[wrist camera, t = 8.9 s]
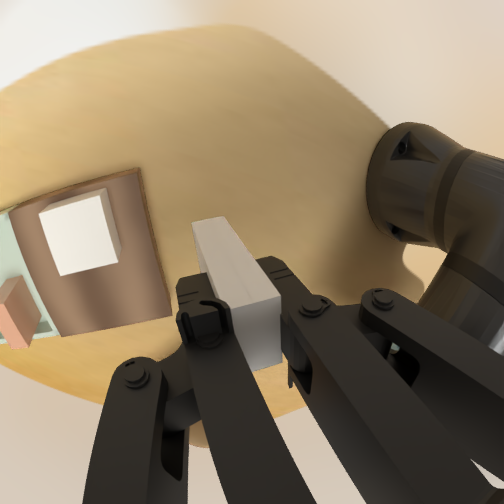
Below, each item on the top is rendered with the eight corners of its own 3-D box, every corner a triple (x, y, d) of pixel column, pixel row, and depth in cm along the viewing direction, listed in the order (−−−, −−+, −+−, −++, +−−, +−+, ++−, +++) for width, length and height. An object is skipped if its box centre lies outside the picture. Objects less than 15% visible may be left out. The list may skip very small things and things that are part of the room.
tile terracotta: (3, 303, 16) (-14, 307, 15) (28, 347, 18) (11, 349, 18) (22, 275, 20) (6, 279, 20) (41, 315, 23) (25, 318, 22)
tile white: (106, 187, 18) (99, 195, 16) (121, 248, 21) (118, 262, 18) (50, 204, 17) (38, 213, 15) (68, 261, 19) (60, 276, 17)
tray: (20, 203, 18) (7, 212, 16) (65, 319, 24) (60, 334, 22) (-44, 231, 16) (-56, 241, 14) (2, 330, 22) (-5, 344, 20)
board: (139, 167, 21) (136, 173, 19) (170, 297, 27) (172, 315, 25) (21, 202, 18) (7, 213, 16) (67, 318, 24) (61, 337, 22)
